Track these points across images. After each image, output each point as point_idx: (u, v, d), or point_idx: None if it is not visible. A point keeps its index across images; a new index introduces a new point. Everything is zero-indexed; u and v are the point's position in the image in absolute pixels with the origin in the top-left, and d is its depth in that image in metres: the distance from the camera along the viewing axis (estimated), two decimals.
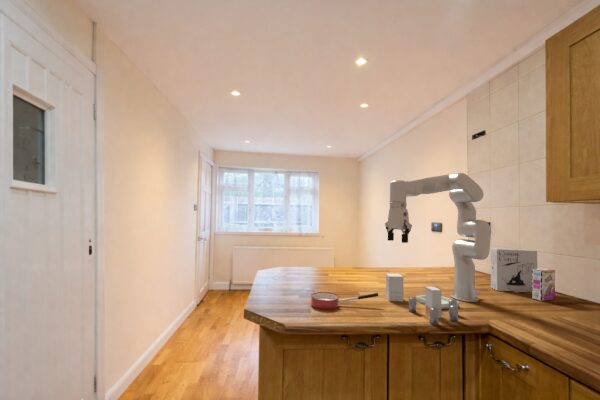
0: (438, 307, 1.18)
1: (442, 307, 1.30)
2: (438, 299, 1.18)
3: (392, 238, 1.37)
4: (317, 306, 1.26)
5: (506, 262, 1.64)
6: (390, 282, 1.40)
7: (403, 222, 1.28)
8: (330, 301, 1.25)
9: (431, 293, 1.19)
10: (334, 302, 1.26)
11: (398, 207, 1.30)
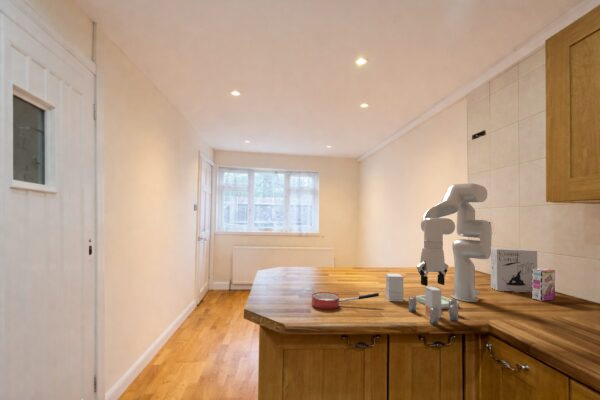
0: (438, 307, 1.18)
1: (442, 307, 1.30)
2: (438, 299, 1.18)
3: None
4: (318, 306, 1.26)
5: (506, 262, 1.64)
6: (390, 282, 1.40)
7: None
8: (331, 301, 1.25)
9: (431, 293, 1.19)
10: (335, 302, 1.26)
11: None
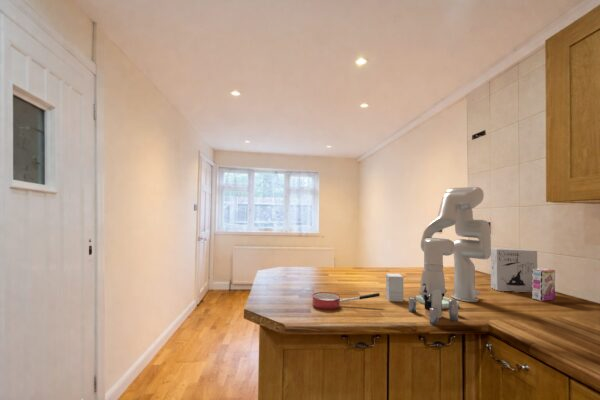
0: (438, 307, 1.18)
1: (442, 307, 1.30)
2: (438, 299, 1.18)
3: None
4: (319, 306, 1.26)
5: (506, 262, 1.64)
6: (390, 282, 1.40)
7: None
8: (331, 301, 1.25)
9: None
10: (335, 302, 1.26)
11: (442, 270, 1.21)
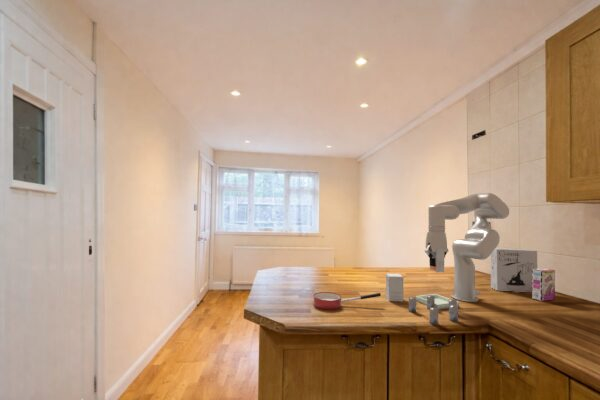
0: (441, 263, 1.36)
1: (442, 307, 1.30)
2: (441, 256, 1.36)
3: None
4: (320, 306, 1.26)
5: (506, 262, 1.64)
6: (390, 282, 1.40)
7: None
8: (333, 301, 1.25)
9: None
10: (337, 302, 1.26)
11: None
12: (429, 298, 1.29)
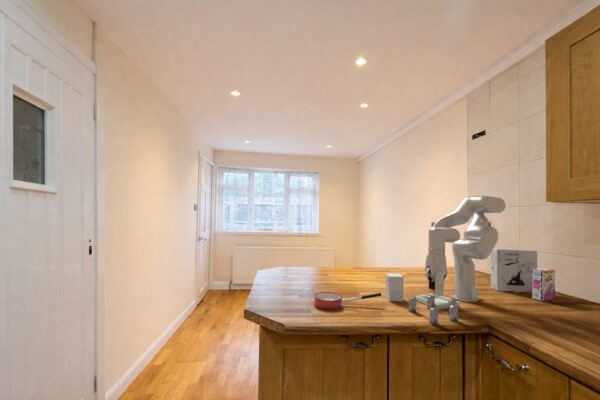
0: (440, 286, 1.35)
1: (442, 307, 1.30)
2: (441, 280, 1.35)
3: None
4: (321, 306, 1.26)
5: (506, 262, 1.64)
6: (390, 282, 1.40)
7: None
8: (333, 301, 1.25)
9: None
10: (337, 302, 1.26)
11: (444, 254, 1.38)
12: (429, 298, 1.29)
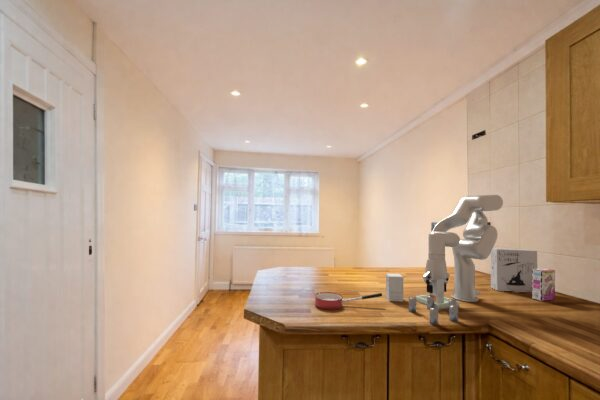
0: (441, 294, 1.35)
1: (442, 307, 1.30)
2: (441, 287, 1.35)
3: None
4: (322, 306, 1.26)
5: (506, 262, 1.64)
6: (390, 282, 1.40)
7: None
8: (334, 301, 1.25)
9: (436, 282, 1.35)
10: (338, 302, 1.26)
11: None
12: (429, 298, 1.29)
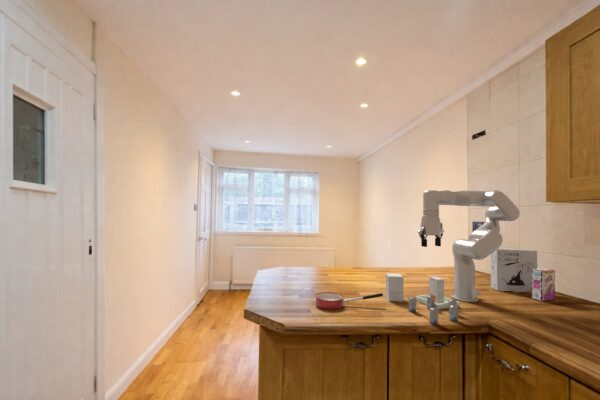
0: (441, 294, 1.35)
1: (442, 307, 1.30)
2: (441, 287, 1.35)
3: None
4: (322, 306, 1.26)
5: (506, 262, 1.64)
6: (390, 282, 1.40)
7: None
8: (335, 301, 1.25)
9: (436, 282, 1.35)
10: (339, 302, 1.26)
11: None
12: (429, 298, 1.29)
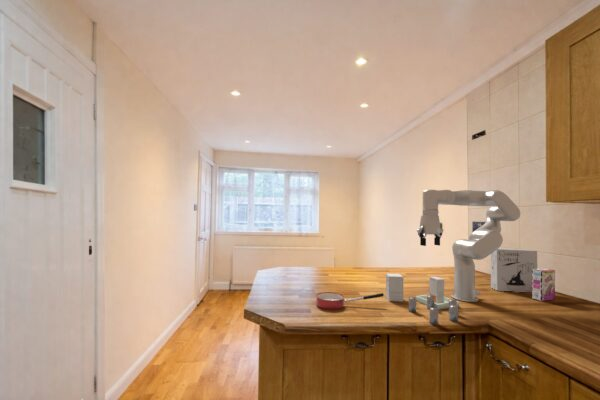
0: (441, 294, 1.35)
1: (442, 307, 1.30)
2: (441, 287, 1.35)
3: None
4: (323, 306, 1.26)
5: (506, 262, 1.64)
6: (390, 282, 1.40)
7: None
8: (335, 301, 1.25)
9: (436, 282, 1.35)
10: (339, 302, 1.26)
11: None
12: (429, 298, 1.29)
